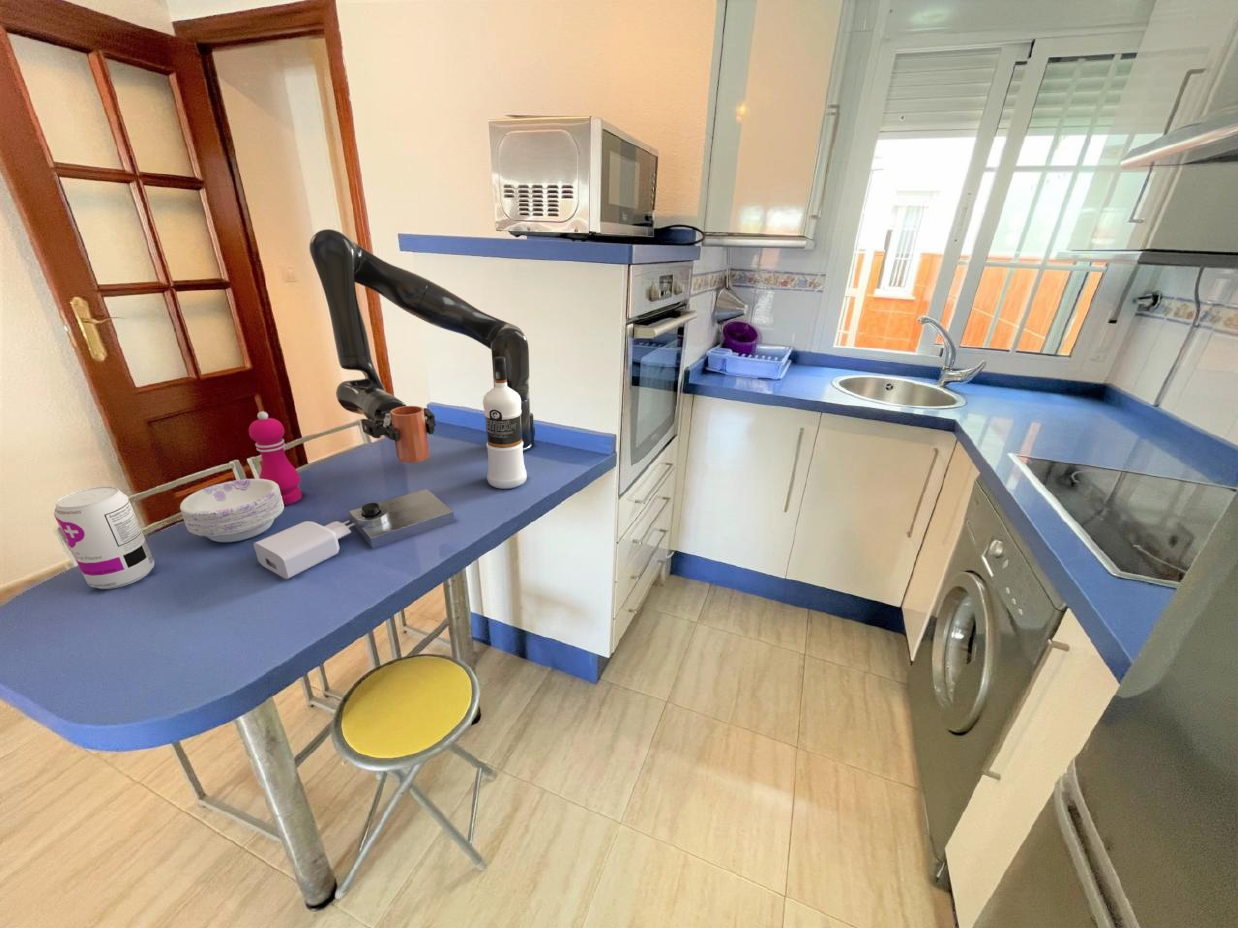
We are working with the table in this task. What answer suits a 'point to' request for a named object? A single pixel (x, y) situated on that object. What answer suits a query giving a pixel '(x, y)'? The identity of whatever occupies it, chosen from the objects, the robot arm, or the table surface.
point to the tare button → (370, 510)
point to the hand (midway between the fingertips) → (414, 432)
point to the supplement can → (104, 536)
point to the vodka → (504, 432)
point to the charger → (300, 547)
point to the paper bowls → (233, 509)
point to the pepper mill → (275, 457)
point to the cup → (410, 434)
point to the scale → (402, 518)
